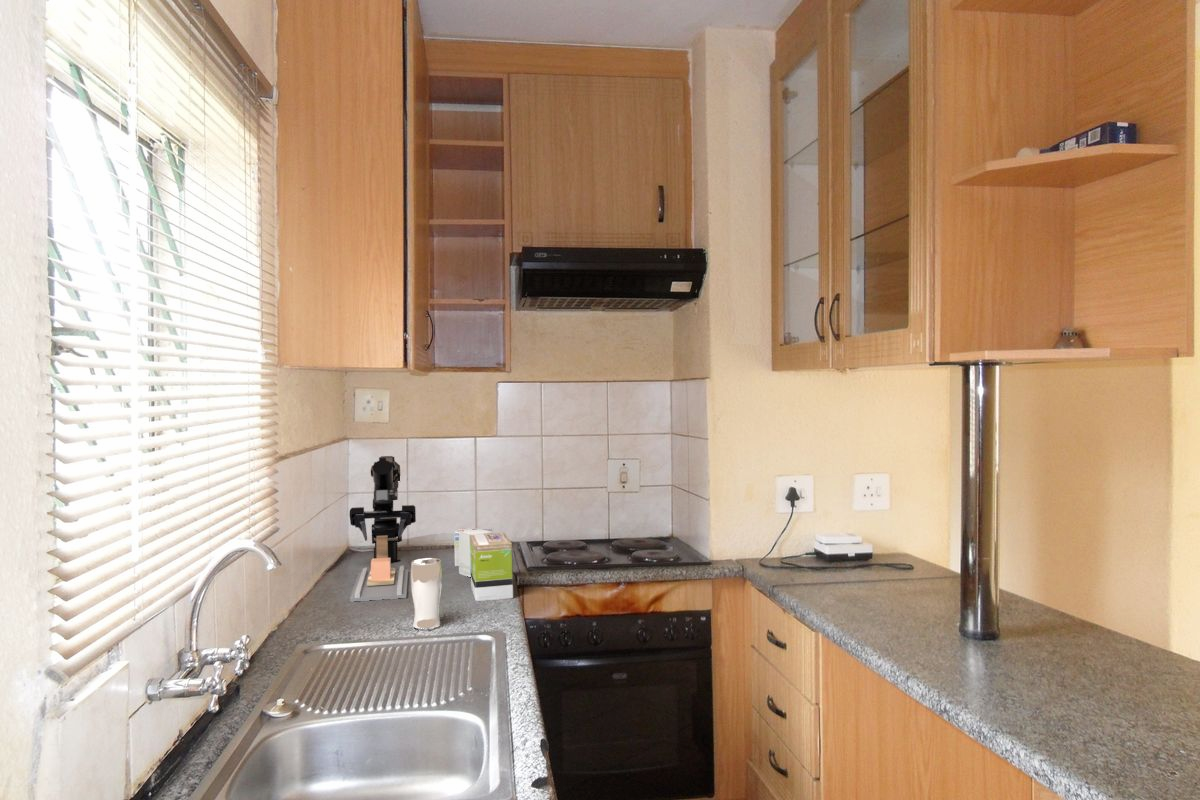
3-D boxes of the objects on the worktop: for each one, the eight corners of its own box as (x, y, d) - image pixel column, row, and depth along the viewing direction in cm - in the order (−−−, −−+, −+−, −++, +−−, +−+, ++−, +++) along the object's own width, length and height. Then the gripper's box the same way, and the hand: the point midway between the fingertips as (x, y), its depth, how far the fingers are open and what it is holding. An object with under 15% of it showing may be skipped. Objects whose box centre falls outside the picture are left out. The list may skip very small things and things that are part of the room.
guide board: (358, 575, 228) (358, 568, 228) (408, 572, 231) (408, 565, 231) (349, 602, 199) (349, 593, 199) (406, 598, 202) (406, 589, 202)
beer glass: (415, 622, 180) (414, 557, 180) (445, 622, 180) (444, 557, 180) (407, 631, 174) (406, 564, 173) (438, 631, 173) (437, 564, 173)
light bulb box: (493, 562, 244) (492, 527, 244) (488, 567, 237) (487, 531, 237) (459, 561, 245) (459, 527, 245) (453, 566, 238) (453, 531, 238)
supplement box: (471, 578, 223) (471, 534, 223) (458, 574, 228) (457, 531, 228) (493, 574, 228) (493, 531, 228) (479, 570, 233) (479, 528, 233)
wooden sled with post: (370, 572, 226) (370, 534, 226) (395, 571, 227) (395, 533, 227) (367, 585, 210) (366, 545, 210) (393, 584, 212) (393, 543, 212)
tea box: (469, 588, 212) (468, 533, 212) (506, 585, 215) (505, 531, 214) (474, 602, 197) (473, 544, 197) (514, 599, 200) (513, 541, 200)
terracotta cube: (372, 576, 217) (372, 558, 217) (390, 575, 218) (390, 557, 218) (371, 580, 212) (370, 562, 212) (390, 579, 213) (389, 561, 213)
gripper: (349, 480, 228) (346, 524, 217) (415, 478, 232) (415, 521, 222) (352, 503, 236) (349, 546, 225) (415, 500, 240) (415, 543, 229)
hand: (382, 539), depth 225 cm, fingers open, 9 cm apart
